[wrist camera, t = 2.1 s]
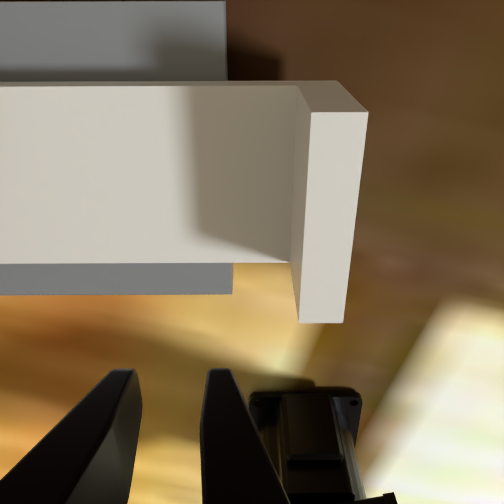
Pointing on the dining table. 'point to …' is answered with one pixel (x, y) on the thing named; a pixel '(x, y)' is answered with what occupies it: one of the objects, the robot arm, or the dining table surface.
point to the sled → (185, 177)
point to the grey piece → (114, 69)
